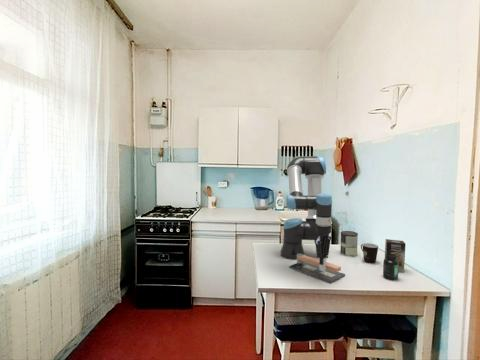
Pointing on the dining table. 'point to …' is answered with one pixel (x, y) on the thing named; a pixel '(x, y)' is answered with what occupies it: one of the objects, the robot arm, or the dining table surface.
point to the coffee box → (396, 251)
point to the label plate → (317, 272)
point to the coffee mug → (369, 252)
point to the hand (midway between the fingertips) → (322, 270)
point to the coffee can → (349, 243)
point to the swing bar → (316, 262)
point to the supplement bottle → (390, 267)
